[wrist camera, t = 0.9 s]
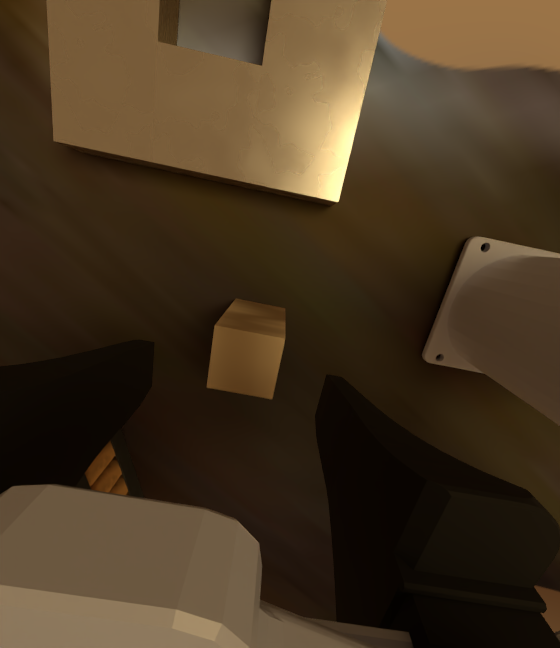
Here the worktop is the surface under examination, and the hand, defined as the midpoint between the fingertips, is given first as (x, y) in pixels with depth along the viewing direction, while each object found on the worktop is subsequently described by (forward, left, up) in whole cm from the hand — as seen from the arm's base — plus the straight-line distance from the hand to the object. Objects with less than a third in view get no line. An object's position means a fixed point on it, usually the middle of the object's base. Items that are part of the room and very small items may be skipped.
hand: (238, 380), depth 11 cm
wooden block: (0, 0, -7) cm, 7 cm away
